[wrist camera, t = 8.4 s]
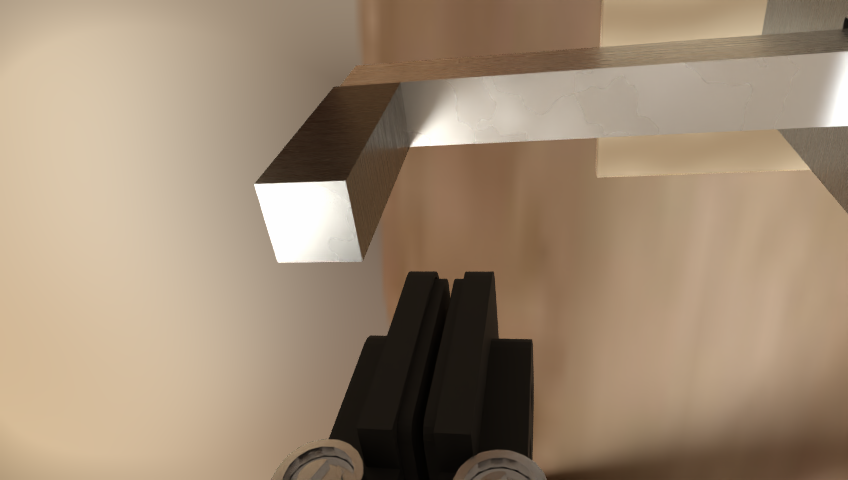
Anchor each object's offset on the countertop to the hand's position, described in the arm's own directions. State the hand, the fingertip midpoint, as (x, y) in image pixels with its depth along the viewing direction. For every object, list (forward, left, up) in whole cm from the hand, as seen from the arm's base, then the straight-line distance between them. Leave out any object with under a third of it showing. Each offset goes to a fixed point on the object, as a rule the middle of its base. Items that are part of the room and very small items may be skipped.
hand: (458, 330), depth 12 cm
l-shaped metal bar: (0, -5, -13) cm, 14 cm away
